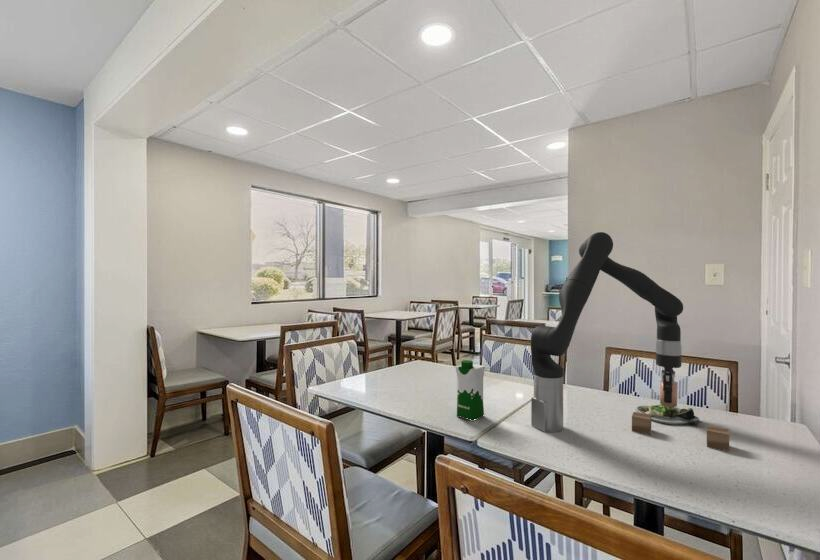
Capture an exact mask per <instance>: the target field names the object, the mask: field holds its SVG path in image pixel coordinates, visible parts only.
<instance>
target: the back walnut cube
mask: <svg viewBox="0 0 820 560" xmlns="http://www.w3.org/2000/svg"><path fill="white" fill-rule="evenodd" d="M631 432H632V433H633V432H634V433H637V434H638V433H639V434H644V435H648V436H650V435H651V432H652V420H651V415H650V414H649V413H646V414H644V413H639V412H637V411H633V413H632V414H631Z"/></svg>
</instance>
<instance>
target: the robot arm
mask: <svg viewBox="0 0 820 560" xmlns="http://www.w3.org/2000/svg"><path fill="white" fill-rule="evenodd" d="M613 247H614V241H613V238H612V236H610V235H609V234H608V233H607V232H602V231H598V232H594V233H593V234H591V235H590V236H589V237H588V238H587V239H586V240H584V241H583V243H582V244H581V245H580V246H579V248H578V253H579V256H580V257H581V259H580V260H579V262H577V264H576V265H575V266H574V267H573V269H572V270H571V272H569V274H568V276H567V277H566V279H565V280H564V282H563V285H562V286H561V288H560V290H559V294H558V301H559V307H560V309H561V310H560V311H561V317H560V319H559V322H558V323H557V326H548V325H537V326H535V328H533V329H532V332H531V335H530V356H531V357H530V358H531V366H532V368H533V396H532V397H531V398H530V399H531V403H530V404H531V405H530V406H531V409H530V410H531V411H530V412H531V413H530V414H531V416H530V417H531V419H530V420H531V427H534V428H536V429H537V430H540V431H542V432H544V433H546V432H550V433H555V432H557V433H558V432H561V431H563V430H564V369H563V367H562V366H561V365H560V364H559V363H557V362H556V361H555V360H554V359H553V358H552V356H554V357H561V356H564V355H565V353H566V352H567V351H568V348H569V346H570V344H571V341H572V338H573V335H574V333H575V329H576V326H577V324H578V321H579V318H580V316H581V313H582V311H583V309H584V307H585V305H586V304H587V302H588V300H589V298H590V296H591V294H592V290H593V288H594V286H595V283H596V281H597V279H598V277H599V274H600V272H603V273H605V274H607V275H608V276H610V277H612V278H614V279H615V280H617V281H619V283H621V284H623V285H624V286H626V287H627V288H628V289H629V290H631V291H632V292H633V293H635V294H636V295H637V296H638V297H640V298H641V299H642V300H645V301H647V302H648V303H649V304H651V305H652V306H654V313H655V315H654V316H655V321H656V343H655V365H656V366H658V367H663V369H661V380H662V384H663V391H664V402H665V403H672V392H673V390H672V386H674V381H675V377H676V371H674V369H679V368H681V367H682V341H681V340H682V339H681V338H682V337H681V336H682V332H681V326H680V325H679V322H678V316H680V315H681V314H682V313H683V311H684V303H683V302H682V301H681V300H680V298H678V297H677V296H676V295H674V294H673V293H671V292H670V291H668V290H666V289H664V288H663V287H661V286H660V285H659V284H658V283H657V282H655V281H654V280H653V279H652V278H651V277H649V276H648V275H647V274H645V273H643V272H642V271H640V270H638V269H635V268H632V267H629V266H626V265H624V264H620V263H618V262H617V261H615V260H613V259H612V258H610V257H609V256H610V254H611V253H612V252H613V250H614V249H613ZM666 385H667V386H670V388H665V386H666Z"/></svg>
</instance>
